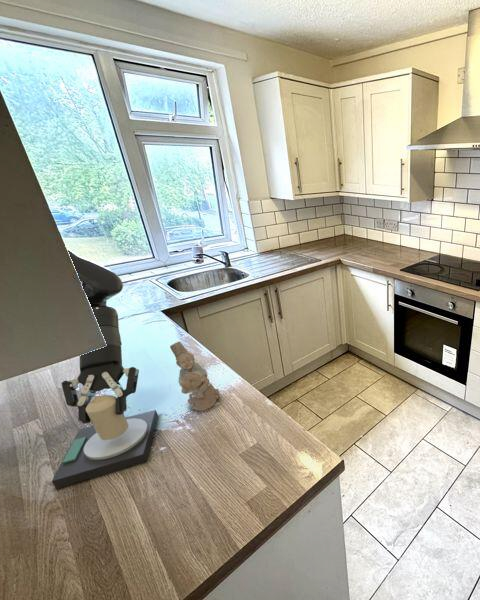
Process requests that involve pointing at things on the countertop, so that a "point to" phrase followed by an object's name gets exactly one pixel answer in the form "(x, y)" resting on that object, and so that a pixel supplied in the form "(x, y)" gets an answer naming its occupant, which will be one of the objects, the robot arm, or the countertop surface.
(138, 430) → the kitchen scale
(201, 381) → the figurine
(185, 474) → the countertop surface
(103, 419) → the candle
